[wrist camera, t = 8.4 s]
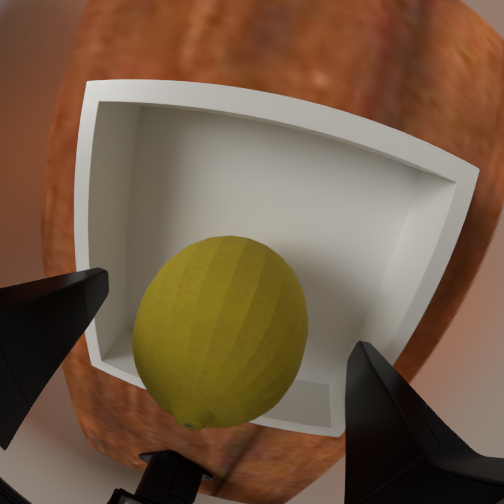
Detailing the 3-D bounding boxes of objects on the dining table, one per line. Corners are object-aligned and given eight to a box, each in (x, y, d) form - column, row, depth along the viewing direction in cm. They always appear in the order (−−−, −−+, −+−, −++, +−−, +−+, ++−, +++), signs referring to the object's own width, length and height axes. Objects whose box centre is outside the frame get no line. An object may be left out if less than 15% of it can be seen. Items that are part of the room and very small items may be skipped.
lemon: (173, 285, 14) (90, 414, 7) (210, 185, 12) (87, 297, 4) (272, 330, 14) (247, 479, 7) (330, 243, 12) (358, 412, 5)
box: (335, 385, 16) (338, 437, 12) (123, 326, 17) (91, 365, 13) (432, 158, 11) (479, 169, 7) (139, 91, 11) (87, 81, 8)
